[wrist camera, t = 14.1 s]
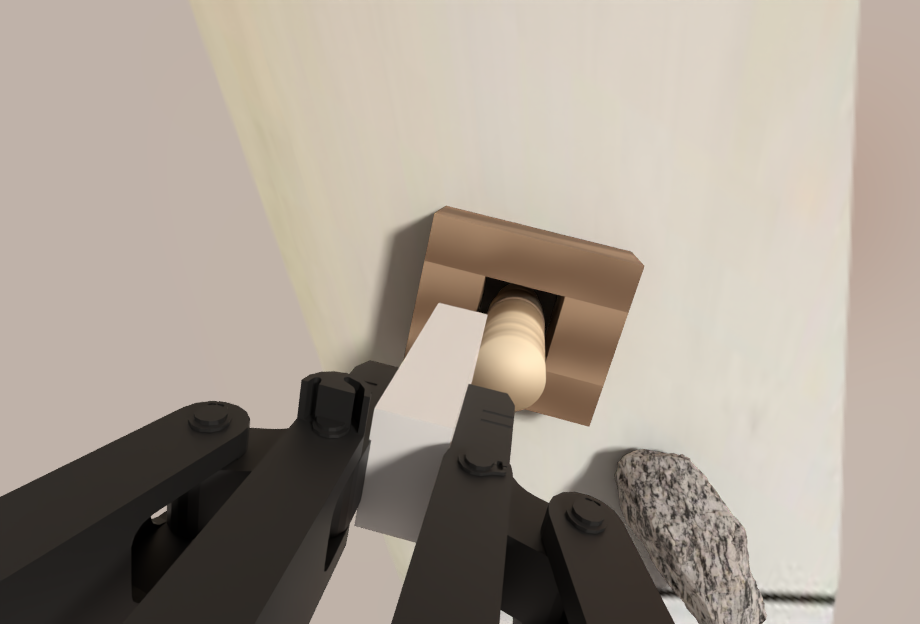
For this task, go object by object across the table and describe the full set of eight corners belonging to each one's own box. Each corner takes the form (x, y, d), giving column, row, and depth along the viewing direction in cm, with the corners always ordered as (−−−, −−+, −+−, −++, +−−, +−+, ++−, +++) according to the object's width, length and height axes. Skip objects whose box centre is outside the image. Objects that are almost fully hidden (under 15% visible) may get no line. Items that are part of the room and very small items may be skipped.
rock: (735, 597, 46) (789, 691, 36) (635, 606, 48) (662, 699, 38) (706, 420, 45) (754, 468, 35) (604, 435, 46) (623, 485, 36)
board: (446, 205, 40) (434, 213, 36) (631, 251, 39) (644, 266, 35) (414, 351, 44) (400, 375, 39) (583, 396, 43) (589, 426, 38)
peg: (497, 272, 41) (478, 332, 28) (550, 286, 41) (556, 352, 28) (485, 322, 43) (461, 401, 29) (535, 335, 42) (535, 421, 29)
